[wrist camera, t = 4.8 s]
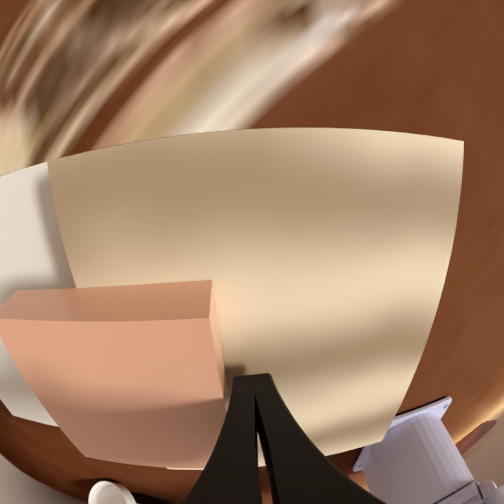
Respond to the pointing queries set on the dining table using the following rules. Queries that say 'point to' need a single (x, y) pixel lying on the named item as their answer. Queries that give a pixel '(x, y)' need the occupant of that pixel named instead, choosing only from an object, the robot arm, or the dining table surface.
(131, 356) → the tile
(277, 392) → the robot arm
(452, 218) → the block
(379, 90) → the dining table surface
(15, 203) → the mat
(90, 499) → the spread jar
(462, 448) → the wooden tablet
